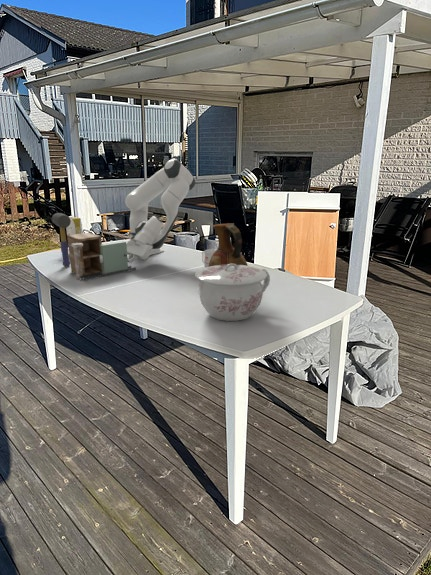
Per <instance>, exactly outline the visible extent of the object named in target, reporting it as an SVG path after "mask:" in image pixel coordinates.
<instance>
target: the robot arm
mask: <svg viewBox="0 0 431 575" xmlns="http://www.w3.org/2000/svg"><path fill="white" fill-rule="evenodd" d="M195 185H196V178H195V177H194V175H192V172H190V171H189V169H188V168H187V167H185V166H184V165H183V164H182V163H181V161H179V160H178V159H177V158H170V159H169V160H167V161H166V162H165V164H164V166H163V167H162V168H161V169H160V170H157V171H156V172H154V174H153V175H151V176H150V177H149V178H148V179H146V180H145V181H144V182H143V183H141V184H140V185H138V186H137V187H136V188H135V189H133V190H132V191H131V192H130V193H128V194H127V195H126V197H125V200H124V203H125V205H126V207H127V208H128V209H129V210H130V214H129V241H127V242H126V244H127V258H128V264H133V262H134V261H136V260H137V259H140V260H143V261H146V260H147V259H148V258H149V257H150V256H151V255H156V254H159V253H163V252H165V251H164V250H165V249H163V248H162V247H163V246H164V244H165V242H166V240H167V238H168V235H169V233H171V230H172V228H173V226H174V225H175V223H176V222H177V219H178V218H179V217H178V216H179V207H180V205H181V203H182V202H183V200H184V199H185V198H186V197H187V195H188V193H189V192H190V191H192V190H193V189H194V188H195ZM160 195H161V197H160V204H161V207H162V209H163V210H164V213H165V215H166V221H165V222H163V221H162V220H161V219H160V218H159V217H157V216H154V215H153V216H152V215H151V217H150V218H149V219H148V213H149V203H150V202H151V201H153V200H154V199H156V198H157V197H158V196H160Z"/></svg>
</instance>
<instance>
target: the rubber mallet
mask: <svg viewBox="0 0 431 575" xmlns="http://www.w3.org/2000/svg"><path fill="white" fill-rule="evenodd" d="M51 222H52V223H53V224H54V225H56V226H57V227H58V228H59V231H60V232H59V233H60V240H61V241H60V251H61V255H62V266H63V268H64V267H65V268H68V267H70V266H71V264H70V255H69V247H68V240H67V235H66V230H65V229H66V227H68V226H69V225H70V223H71V220H70V218H69V216H68V215H66V214H65V213H62V212H56V213H54V214H53V215H52V216H51Z"/></svg>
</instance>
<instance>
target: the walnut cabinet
mask: <svg viewBox="0 0 431 575" xmlns="http://www.w3.org/2000/svg"><path fill="white" fill-rule="evenodd" d="M66 239H67V245H68V256H69V261H70V270H71V273H73V274H75V275H76V276H75V277H76V280H77V281H78V282H80V281H81V279H80V276H83V275H87V274H92V273H97V272H102V263H100V257H99V255H101V250H100V245H102V243H103V242H102V236H101V235H98V234H96V233H92V232H84V233H82V234H74V235H67V234H66Z"/></svg>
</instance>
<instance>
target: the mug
mask: <svg viewBox="0 0 431 575" xmlns="http://www.w3.org/2000/svg"><path fill="white" fill-rule="evenodd" d="M217 249H218V248H217ZM217 249H215V248H210V249H205V250H203V251H202V252H201V260H202V263H203V264H204V268H205V267H208V266H209V262H210V259H211V257H212V255H213V253H214V252H215V251H216V250H217Z"/></svg>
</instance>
